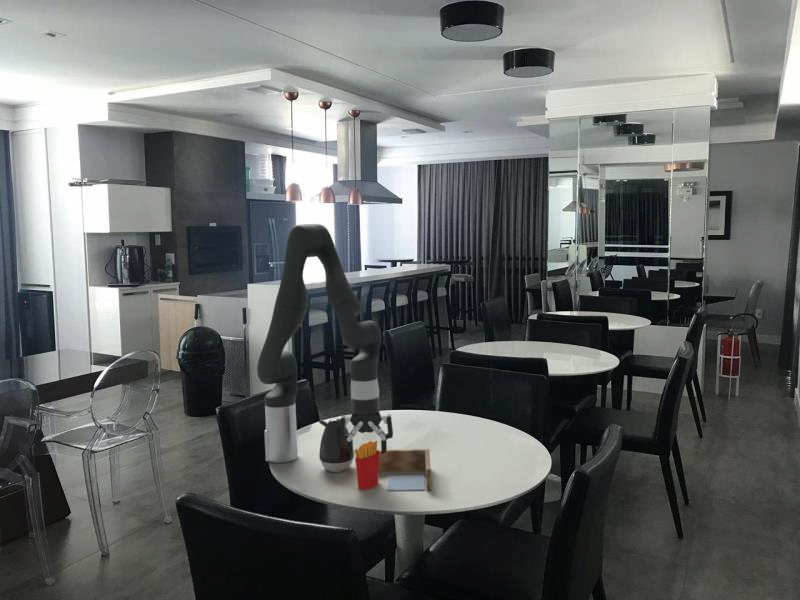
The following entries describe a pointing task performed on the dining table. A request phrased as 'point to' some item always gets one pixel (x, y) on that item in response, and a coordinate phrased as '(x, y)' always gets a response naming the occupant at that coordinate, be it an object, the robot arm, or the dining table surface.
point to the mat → (406, 483)
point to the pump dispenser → (334, 447)
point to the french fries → (367, 465)
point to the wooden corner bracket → (406, 462)
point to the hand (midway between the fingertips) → (367, 453)
